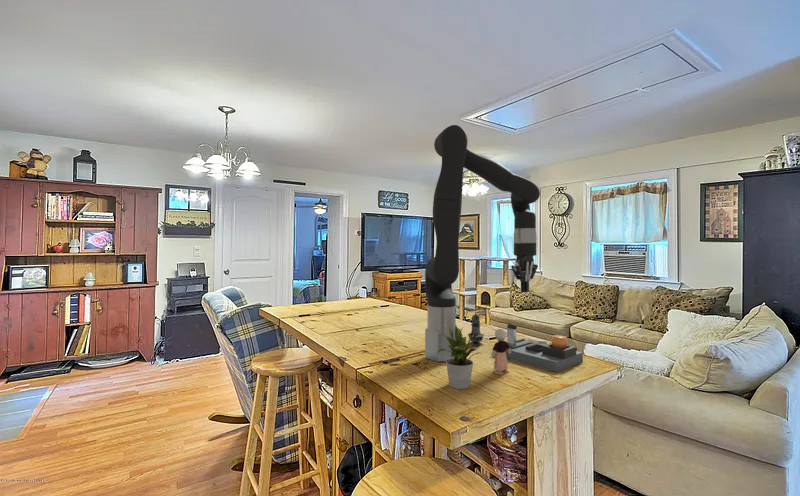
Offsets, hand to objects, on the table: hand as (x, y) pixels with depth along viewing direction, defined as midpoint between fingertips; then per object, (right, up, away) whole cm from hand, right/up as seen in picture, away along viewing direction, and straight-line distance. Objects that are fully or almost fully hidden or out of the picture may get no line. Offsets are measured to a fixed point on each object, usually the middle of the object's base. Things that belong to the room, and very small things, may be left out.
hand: (524, 292), depth 129 cm
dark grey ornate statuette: (-15, -21, +11) cm, 28 cm away
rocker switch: (+2, -16, -7) cm, 17 cm away
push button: (+7, -16, -13) cm, 21 cm away
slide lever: (-5, -18, -3) cm, 19 cm away
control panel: (+2, -21, -7) cm, 22 cm away
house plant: (-28, -21, -30) cm, 46 cm away
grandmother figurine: (-14, -21, -21) cm, 33 cm away
